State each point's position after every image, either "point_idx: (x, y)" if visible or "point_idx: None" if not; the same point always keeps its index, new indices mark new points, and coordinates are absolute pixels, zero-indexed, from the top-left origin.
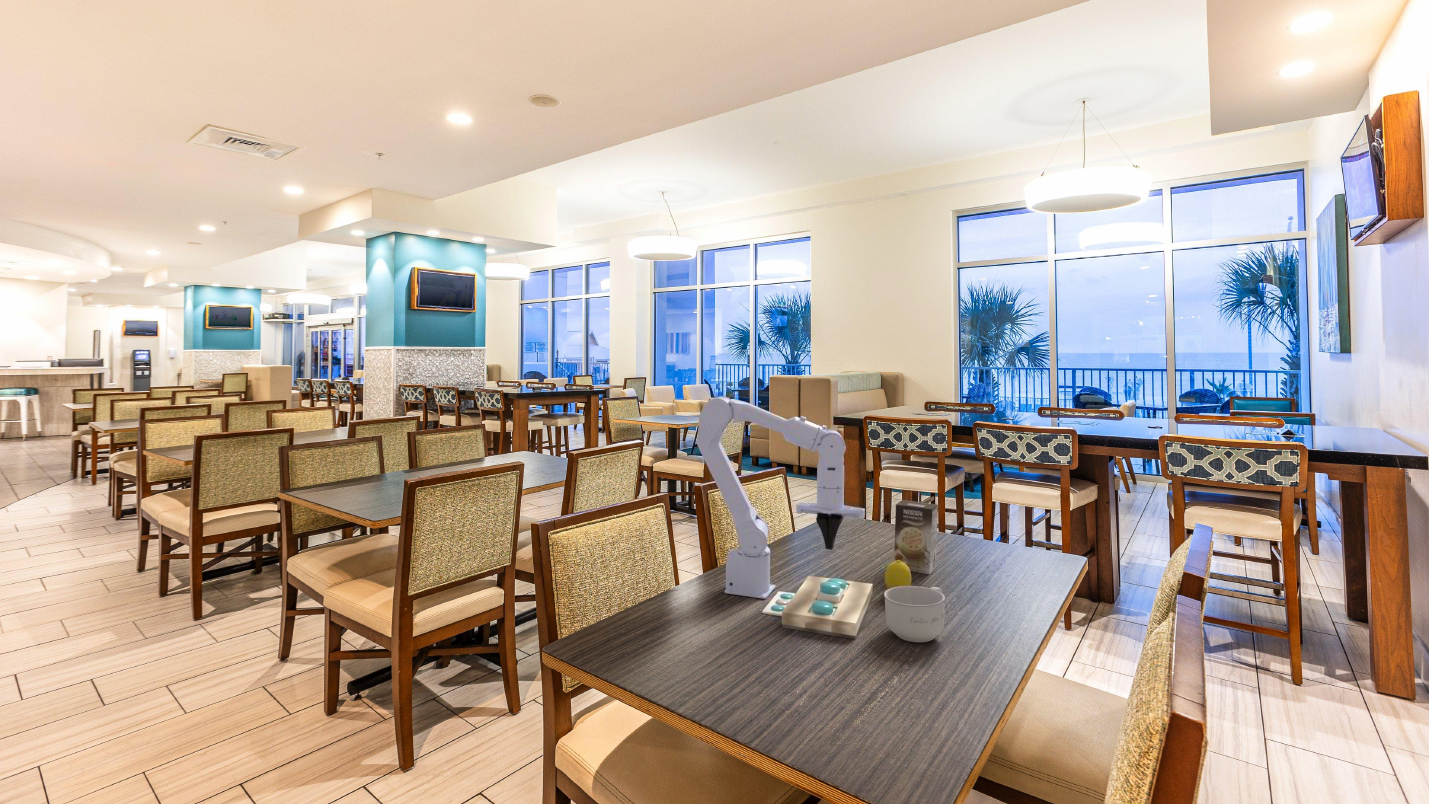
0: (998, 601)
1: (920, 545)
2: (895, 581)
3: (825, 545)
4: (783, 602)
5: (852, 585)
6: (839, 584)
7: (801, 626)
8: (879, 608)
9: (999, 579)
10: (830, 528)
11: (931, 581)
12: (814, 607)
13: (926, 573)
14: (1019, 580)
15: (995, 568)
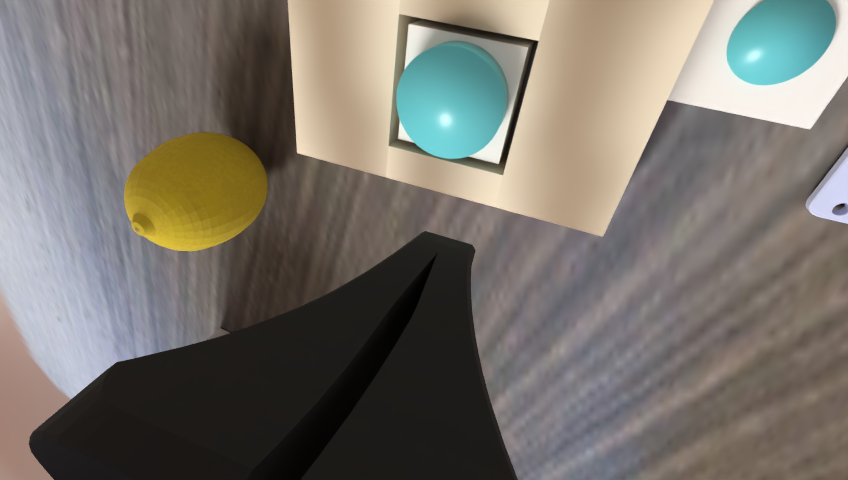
0: (30, 155)
1: None
2: (195, 141)
3: (468, 258)
4: None
5: (376, 118)
6: (430, 56)
7: None
8: (285, 7)
9: (91, 294)
10: (326, 358)
11: (204, 284)
12: None
13: (226, 331)
14: (60, 288)
15: (121, 351)
